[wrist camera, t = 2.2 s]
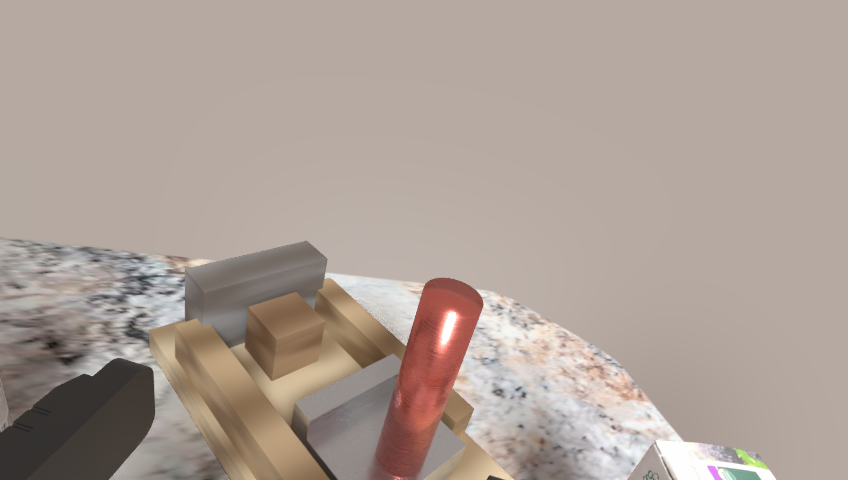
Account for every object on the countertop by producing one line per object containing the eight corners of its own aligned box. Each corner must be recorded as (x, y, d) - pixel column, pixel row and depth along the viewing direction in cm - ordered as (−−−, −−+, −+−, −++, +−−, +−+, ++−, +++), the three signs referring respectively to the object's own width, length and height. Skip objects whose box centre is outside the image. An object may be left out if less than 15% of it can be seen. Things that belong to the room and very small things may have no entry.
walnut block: (244, 347, 37) (248, 306, 35) (290, 330, 40) (295, 291, 38) (271, 381, 35) (276, 339, 33) (318, 360, 38) (325, 321, 36)
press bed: (149, 350, 37) (146, 264, 33) (305, 298, 47) (316, 228, 43) (357, 682, 23) (391, 599, 19) (517, 509, 33) (561, 432, 29)
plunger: (287, 446, 30) (318, 255, 23) (382, 393, 36) (429, 226, 29) (362, 546, 26) (425, 350, 19) (456, 468, 32) (530, 295, 25)
